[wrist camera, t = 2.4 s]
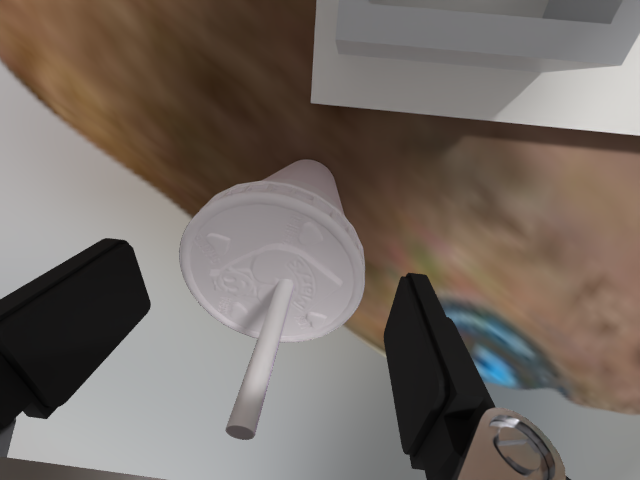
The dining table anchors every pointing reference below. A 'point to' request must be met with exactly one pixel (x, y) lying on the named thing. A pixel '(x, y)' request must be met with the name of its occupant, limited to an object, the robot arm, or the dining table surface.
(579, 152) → the dining table surface
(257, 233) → the smoothie
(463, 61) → the bottle stand
